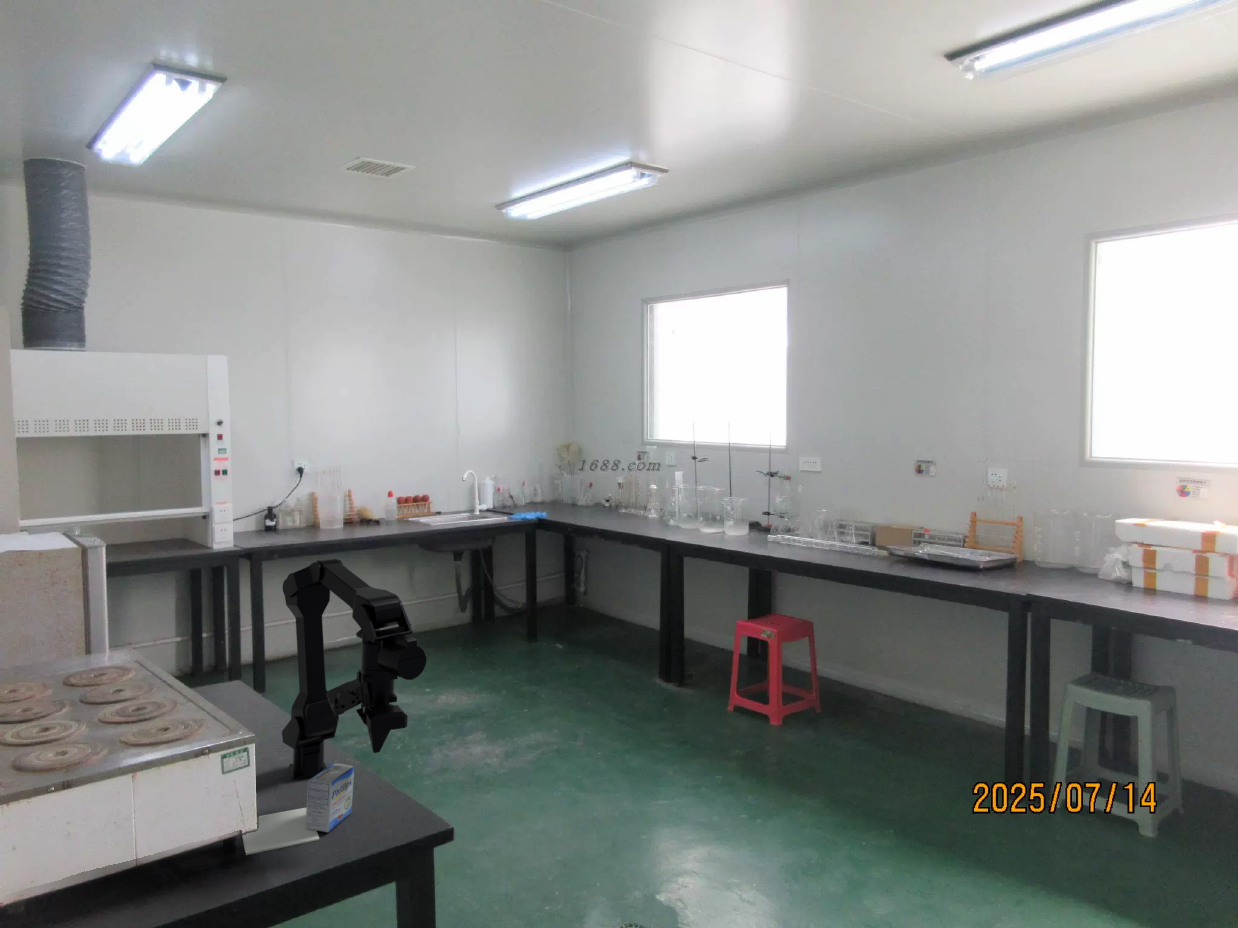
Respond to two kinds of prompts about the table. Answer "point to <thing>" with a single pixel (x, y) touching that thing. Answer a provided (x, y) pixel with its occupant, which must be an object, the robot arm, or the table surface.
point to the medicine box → (329, 797)
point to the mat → (279, 832)
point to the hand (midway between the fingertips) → (376, 751)
